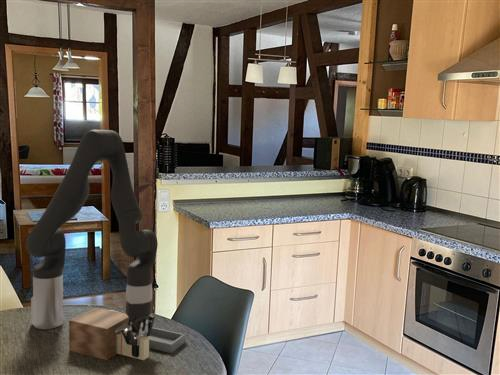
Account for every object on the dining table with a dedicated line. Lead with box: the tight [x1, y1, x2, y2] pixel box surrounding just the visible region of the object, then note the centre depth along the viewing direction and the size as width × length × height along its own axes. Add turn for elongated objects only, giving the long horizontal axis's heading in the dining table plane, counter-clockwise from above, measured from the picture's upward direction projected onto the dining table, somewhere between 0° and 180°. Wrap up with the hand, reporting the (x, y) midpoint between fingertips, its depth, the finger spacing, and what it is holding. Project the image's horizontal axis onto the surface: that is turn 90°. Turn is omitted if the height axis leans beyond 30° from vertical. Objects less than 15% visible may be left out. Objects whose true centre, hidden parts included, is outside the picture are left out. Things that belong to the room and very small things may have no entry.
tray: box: [136, 326, 186, 354], centre depth 155 cm, size 16×8×3 cm, turn 68°
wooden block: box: [68, 306, 129, 361], centre depth 149 cm, size 15×12×10 cm
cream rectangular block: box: [116, 331, 150, 361], centre depth 146 cm, size 12×3×6 cm, turn 67°
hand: (138, 354), depth 145 cm, fingers closed on cream rectangular block, 2 cm apart
